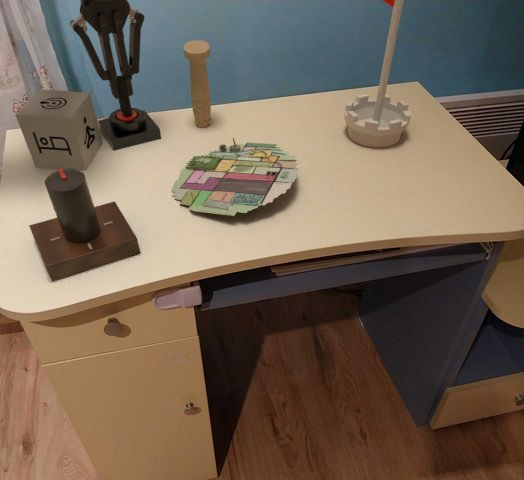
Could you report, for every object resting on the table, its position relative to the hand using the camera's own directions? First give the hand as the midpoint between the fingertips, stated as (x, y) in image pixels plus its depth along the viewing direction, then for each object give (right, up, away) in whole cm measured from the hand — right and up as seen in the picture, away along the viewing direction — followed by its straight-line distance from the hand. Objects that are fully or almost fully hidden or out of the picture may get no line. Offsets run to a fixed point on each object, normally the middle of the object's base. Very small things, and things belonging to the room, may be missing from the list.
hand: (126, 112), depth 99 cm
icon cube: (-11, -9, -2) cm, 14 cm away
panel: (-1, -31, -19) cm, 36 cm away
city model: (+22, -17, -7) cm, 29 cm away
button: (0, -1, +2) cm, 2 cm away
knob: (-1, -29, -21) cm, 36 cm away
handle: (+14, 0, +7) cm, 16 cm away
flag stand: (+50, -2, +5) cm, 51 cm away
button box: (0, -3, +3) cm, 5 cm away
